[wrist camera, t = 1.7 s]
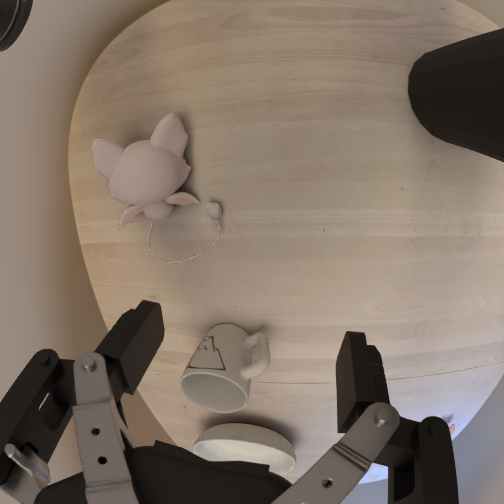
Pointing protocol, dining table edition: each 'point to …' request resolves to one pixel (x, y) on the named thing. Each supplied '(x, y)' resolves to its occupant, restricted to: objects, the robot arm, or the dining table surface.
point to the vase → (463, 93)
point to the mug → (224, 369)
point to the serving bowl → (246, 446)
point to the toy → (149, 174)
